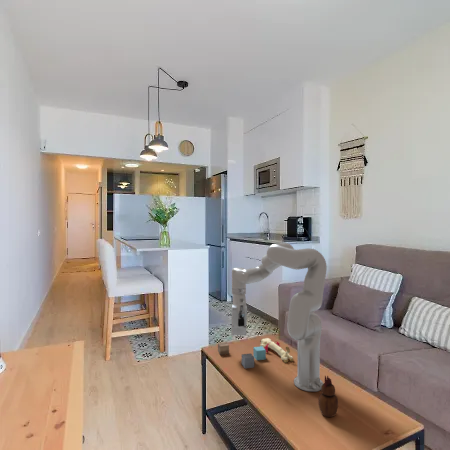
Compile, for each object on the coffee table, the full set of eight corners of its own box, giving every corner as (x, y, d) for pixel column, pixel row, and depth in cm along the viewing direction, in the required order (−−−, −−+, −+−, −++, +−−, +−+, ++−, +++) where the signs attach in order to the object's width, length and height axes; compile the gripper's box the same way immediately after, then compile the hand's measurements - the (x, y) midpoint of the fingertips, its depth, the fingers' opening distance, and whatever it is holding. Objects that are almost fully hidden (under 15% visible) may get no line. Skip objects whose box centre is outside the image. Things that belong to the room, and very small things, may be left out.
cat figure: (296, 362, 160) (269, 342, 182) (297, 346, 159) (270, 328, 182) (281, 366, 156) (255, 345, 178) (281, 350, 155) (255, 330, 177)
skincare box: (231, 335, 162) (231, 307, 162) (231, 331, 168) (231, 304, 168) (247, 335, 162) (247, 307, 161) (246, 331, 168) (246, 304, 167)
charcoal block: (254, 367, 152) (254, 357, 152) (244, 368, 151) (244, 358, 151) (250, 363, 157) (250, 353, 157) (241, 364, 155) (241, 354, 155)
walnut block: (228, 354, 167) (228, 345, 167) (220, 355, 166) (220, 346, 166) (226, 350, 172) (226, 341, 172) (217, 351, 171) (217, 342, 171)
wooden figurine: (324, 420, 111) (325, 379, 110) (315, 411, 116) (315, 371, 116) (340, 417, 112) (341, 376, 112) (331, 408, 118) (331, 369, 118)
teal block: (265, 359, 161) (265, 349, 161) (256, 360, 160) (256, 350, 160) (262, 355, 166) (262, 346, 166) (253, 356, 164) (253, 347, 164)
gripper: (250, 293, 157) (251, 328, 157) (240, 287, 174) (240, 318, 174) (236, 294, 155) (237, 329, 155) (227, 288, 172) (228, 319, 172)
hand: (239, 323), depth 165 cm, fingers closed on skincare box, 7 cm apart
